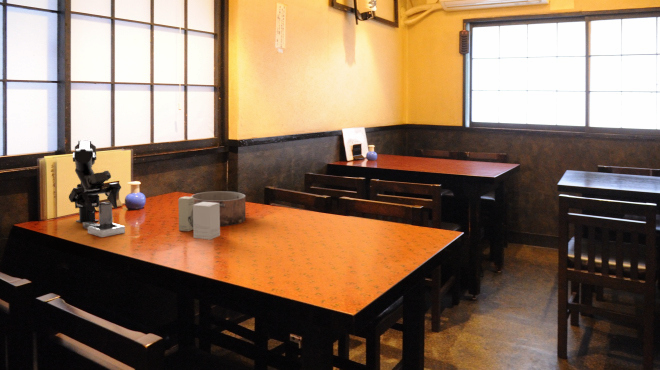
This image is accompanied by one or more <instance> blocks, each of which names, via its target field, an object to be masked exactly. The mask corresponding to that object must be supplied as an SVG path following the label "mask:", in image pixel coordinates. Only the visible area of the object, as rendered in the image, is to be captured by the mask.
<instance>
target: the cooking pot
mask: <svg viewBox="0 0 660 370" xmlns="http://www.w3.org/2000/svg"><path fill="white" fill-rule="evenodd" d="M190 197H194V204H197V203H200V202H213V203H219V206H220V227H228V226H229V227H230V226H235V225H236V226H237V225H239V224H242V223H244V222H245V221H246V210H247V209H246V206H247V205H246V195H245V194H244V193H241V192H237V191H230V190H227V191H226V190H225V191H205V192H204V191H203V192H198V193H195V194H192V195H191V196H190Z"/></svg>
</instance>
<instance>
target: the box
mask: <svg viewBox="0 0 660 370" xmlns="http://www.w3.org/2000/svg"><path fill="white" fill-rule="evenodd" d="M177 204H178V231H180V232H190V231H192V230H193V205H194V197H191V196H185V195H184V196H180V197H179V198H178V203H177Z"/></svg>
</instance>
